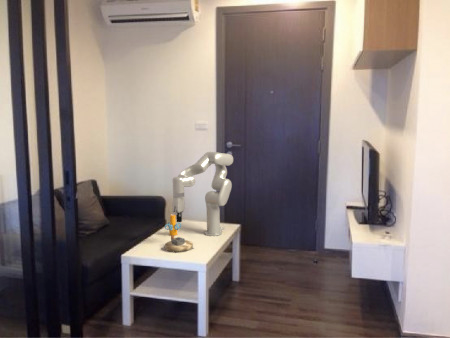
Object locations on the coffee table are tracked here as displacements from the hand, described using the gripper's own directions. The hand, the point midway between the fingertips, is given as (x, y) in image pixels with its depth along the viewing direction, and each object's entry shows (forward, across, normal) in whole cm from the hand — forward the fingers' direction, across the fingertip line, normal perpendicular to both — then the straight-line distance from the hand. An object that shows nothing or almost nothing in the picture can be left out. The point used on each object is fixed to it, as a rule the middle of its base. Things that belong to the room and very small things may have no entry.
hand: (179, 221), depth 291 cm
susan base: (+15, +10, +4) cm, 19 cm away
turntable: (+15, +10, +4) cm, 19 cm away
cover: (+12, +10, +4) cm, 16 cm away
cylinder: (+15, -18, -14) cm, 27 cm away
